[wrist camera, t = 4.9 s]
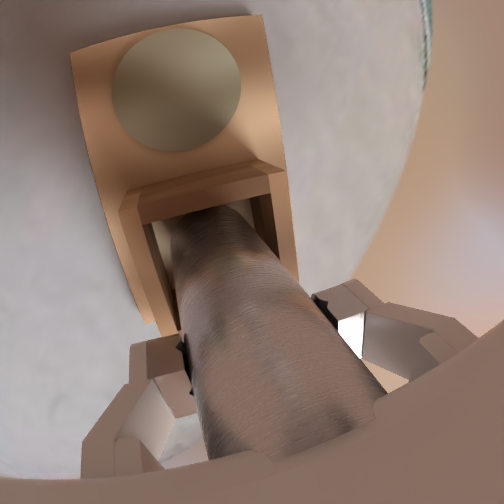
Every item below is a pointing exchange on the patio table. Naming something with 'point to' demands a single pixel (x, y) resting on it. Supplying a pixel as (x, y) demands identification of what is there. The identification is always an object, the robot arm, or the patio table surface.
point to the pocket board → (183, 143)
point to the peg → (260, 345)
